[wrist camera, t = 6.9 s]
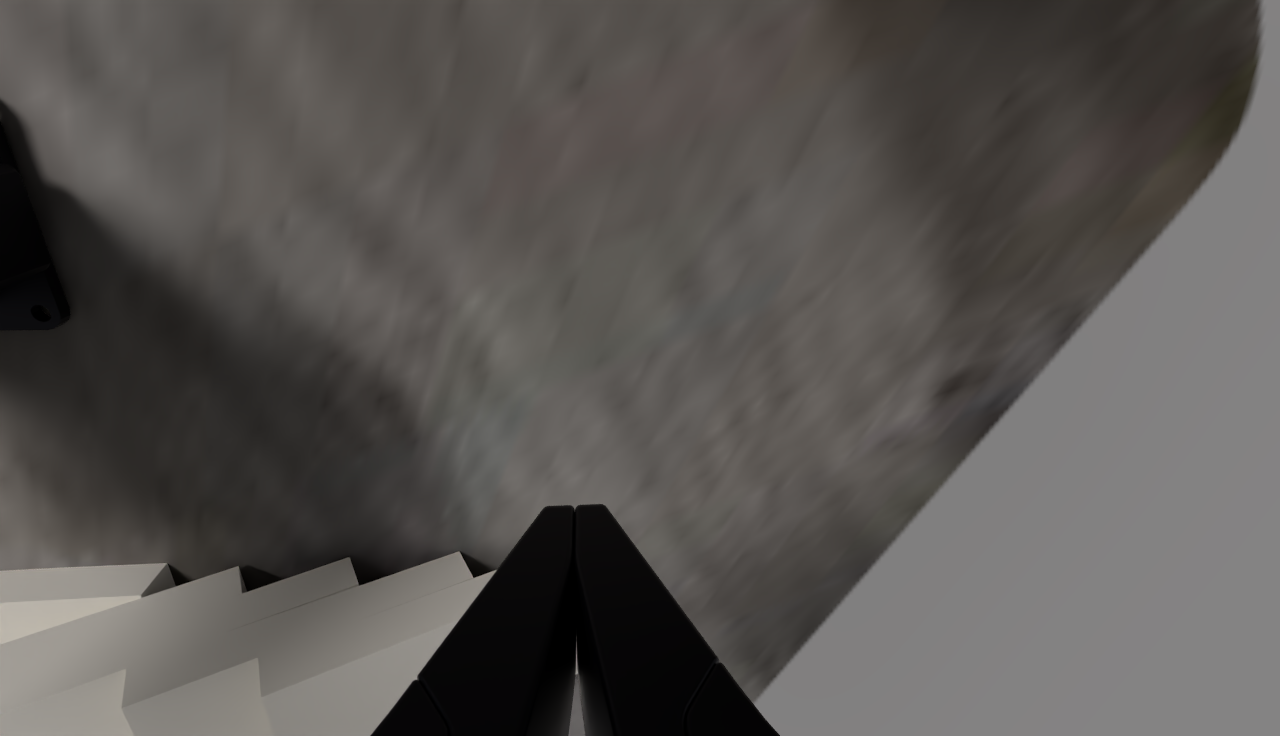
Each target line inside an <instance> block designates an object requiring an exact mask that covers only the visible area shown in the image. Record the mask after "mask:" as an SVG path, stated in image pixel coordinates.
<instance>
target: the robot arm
mask: <svg viewBox="0 0 1280 736" xmlns="http://www.w3.org/2000/svg"><path fill="white" fill-rule="evenodd" d="M42 306H44V307H45V308H47V309H48V310H49V312H50V313H51V316H48V315H47V314H45V313H44V311H43V310H42ZM70 315H71V314H70V308H69V305H68V303H67V300H66V297H65V295H64V292H63V289H62V286H61V284H60V281H59V278H58V276H57V273H56V270H55V268H54V265H53V262H52V260H51V257H50V254H49V251H48V249H47V246H46V243H45V240H44V238H43V235H42V232H41V230H40V227H39V224H38V222H37V219H36V216H35V214H34V211H33V208H32V205H31V203H30V200H29V197H28V195H27V192H26V189H25V187H24V184H23V181H22V178H21V176H20V173H19V171H18V168H17V165H16V163H15V160H14V157H13V155H12V152H11V149H10V146H9V144H8V141H7V138H6V136H5V133H4V130H3V128H2V125H1V122H0V330H49V329H54V328H56V327H58V326H60V325H62V324H64V323H65V322H67V321H68V320H69V318H70ZM576 642H577V670H578V681H579V690H580V698H581V705H582V713H583V721H584V729H585V736H780V735H779V734H778V733H777V732H776V731H775V730H774V729H773V727H772V726H771V725H770V724H769V723H768V722H767V721H766V720H765V718H764V717H763V716H762V715H761V713H760V712H759V711H758V709H757V708H756V707H755V706H754V704H753V703H752V702H751V701H750V699H749V698H748V697H747V696H746V694H745V693H744V692H743V690H742V689H741V688H740V687H739V685H738V684H737V683H736V681H735V680H734V679H733V677H732V676H731V674H730V673H729V672H728V670H727V669H726V668H725V666H724V665H723V664H722V663H720V662H719V659H718V657H717V656H716V655H715V653H714V652H713V651H712V649H711V648H710V646H709V645H708V644H707V642H706V641H705V640H704V638H703V637H702V636H701V634H700V633H699V632H698V630H697V629H696V628H695V626H694V625H693V623H692V622H691V621H690V619H689V618H688V617H687V615H686V614H685V613H684V611H683V610H682V609H681V607H680V606H679V605H678V603H677V602H676V600H675V599H674V598H673V596H672V595H671V594H670V592H669V591H668V590H667V588H666V587H665V586H664V584H663V583H662V582H661V580H660V579H659V577H658V576H657V575H656V573H655V572H654V571H653V569H652V568H651V567H650V565H649V564H648V563H647V561H646V560H645V559H644V557H643V556H642V554H641V553H640V552H639V550H638V549H637V548H636V546H635V545H634V544H633V542H632V541H631V540H630V538H629V537H628V536H627V534H626V533H625V531H624V530H623V529H622V527H621V526H620V525H619V523H618V522H617V521H616V519H615V518H614V517H613V515H612V514H611V513H610V511H609V510H608V509H607V507H606V506H605V505H603V504H592V505H578V506H577V507H576V509H575V510H574V508H573V507H572V506H570V505H564V506H546V507H545V508H543V510H542V511H541V512H540V514H539V515H538V516H537V518H536V519H535V520H534V522H533V523H532V524H531V526H530V527H529V528H528V529H527V531H526V532H525V533H524V535H523V536H522V537H521V539H520V540H519V541H518V543H517V544H516V545H515V547H514V548H513V549H512V551H511V552H510V553H509V555H508V556H507V557H506V559H505V560H504V561H503V563H502V564H501V565H500V567H499V568H498V569H497V571H496V572H495V573H494V575H493V576H492V577H491V579H490V580H489V581H488V583H487V584H486V585H485V587H484V588H483V589H482V590H481V592H480V593H479V594H478V596H477V597H476V598H475V600H474V601H473V602H472V604H471V605H470V606H469V608H468V609H467V610H466V612H465V613H464V614H463V616H462V617H461V618H460V620H459V621H458V622H457V624H456V625H455V626H454V628H453V629H452V630H451V632H450V633H449V634H448V636H447V637H446V638H445V640H444V641H443V642H442V643H441V645H440V646H439V647H438V649H437V650H436V651H435V653H434V654H433V655H432V657H431V658H430V659H429V661H428V662H427V663H426V665H425V666H424V667H423V669H422V670H421V671H420V673H419V674H418V676H417V680H414V681H412V683H411V684H410V685H409V687H408V688H407V689H406V691H405V692H404V693H403V695H402V696H401V697H400V699H399V700H398V701H397V703H396V704H395V705H394V707H393V708H392V709H391V710H390V712H389V713H388V714H387V715H386V717H385V718H384V719H383V720H382V722H381V723H380V724H379V725H378V727H377V728H376V729H375V730H374V732H373V733H372V734H371V735H370V736H568V734H569V726H570V718H571V710H572V701H573V693H574V684H575V673H576Z"/></svg>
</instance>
